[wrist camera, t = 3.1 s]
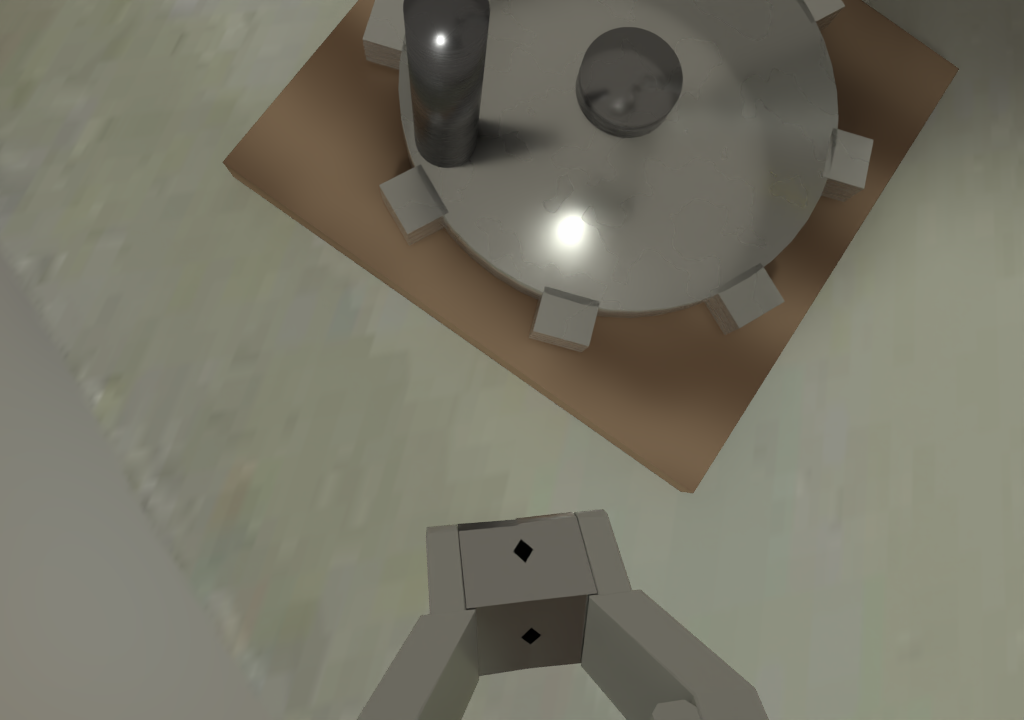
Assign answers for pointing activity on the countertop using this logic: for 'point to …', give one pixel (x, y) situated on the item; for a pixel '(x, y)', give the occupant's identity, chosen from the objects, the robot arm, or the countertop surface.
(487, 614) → the robot arm
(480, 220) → the sprocket
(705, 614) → the countertop surface
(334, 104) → the sprocket base
